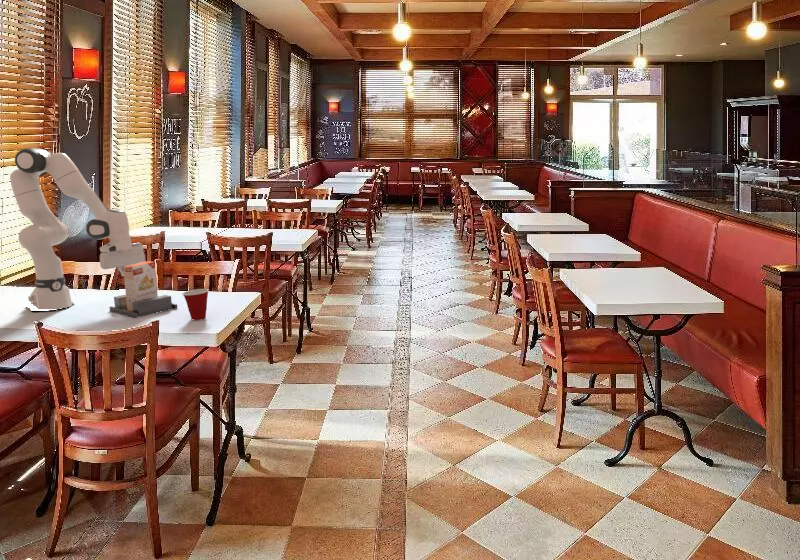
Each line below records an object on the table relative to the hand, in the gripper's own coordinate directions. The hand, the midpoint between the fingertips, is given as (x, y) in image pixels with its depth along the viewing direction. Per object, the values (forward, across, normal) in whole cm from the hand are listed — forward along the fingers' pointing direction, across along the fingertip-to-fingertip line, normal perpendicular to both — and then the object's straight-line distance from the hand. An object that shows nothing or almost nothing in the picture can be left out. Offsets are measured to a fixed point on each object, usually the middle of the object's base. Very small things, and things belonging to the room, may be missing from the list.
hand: (125, 275), depth 326 cm
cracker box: (+14, +1, +13) cm, 20 cm away
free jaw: (+14, +1, +6) cm, 15 cm away
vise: (+14, +1, +14) cm, 20 cm away
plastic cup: (+15, -4, +47) cm, 50 cm away
